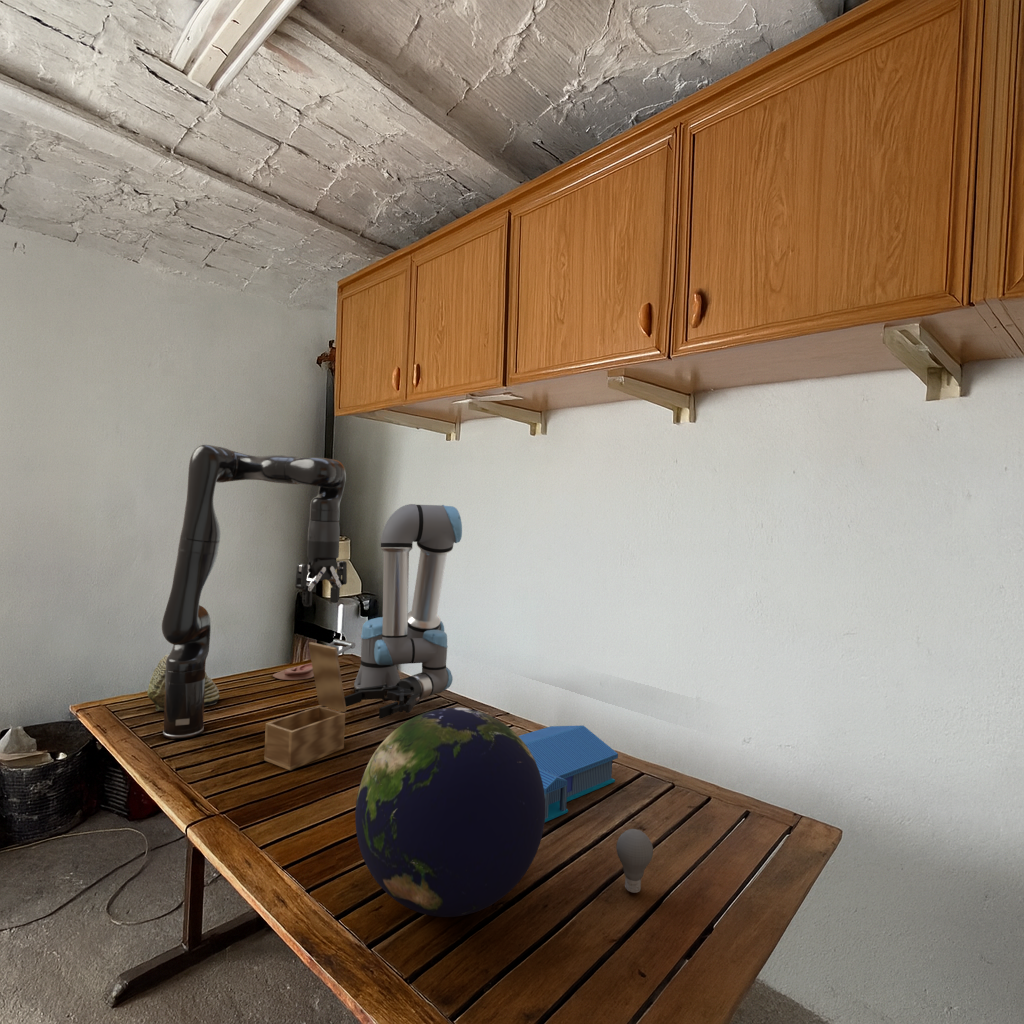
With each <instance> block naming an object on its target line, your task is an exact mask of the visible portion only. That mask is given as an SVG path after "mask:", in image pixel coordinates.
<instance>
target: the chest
mask: <svg viewBox="0 0 1024 1024" xmlns="http://www.w3.org/2000/svg"><path fill="white" fill-rule="evenodd" d="M264 727H265V729H264V730H265V731H264V732H265V733H264V756H263V759H264V760H263V761H265V762H268V763H270V764H273V765H275V766H277V767H279V768H283V769H285V770H287V771H293V770H295V769H298V768H300V767H302V766H304V765H307V764H310V763H312V762H314V761H316V760H320V759H322V758H324V757H326V756H329V755H331V754H334V753H336V752H339V751H341V750H343V749H345V731H346V729H345V728H346V712H342V711H338V710H335V709H332V708H328V707H325V706H322V705H318V706H315V707H311V708H308V709H306V710H302V711H299V712H296V713H294V714H290V715H287V716H284V717H281V718H278V719H275V720H272V721H269V722H265V726H264Z"/></svg>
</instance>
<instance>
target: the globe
mask: <svg viewBox="0 0 1024 1024" xmlns="http://www.w3.org/2000/svg"><path fill="white" fill-rule="evenodd" d="M519 736H520V735H518V734H517V733H516V732H515V731H514V730H513V729H512V728H510V726H508V725H507V724H505V723H504V722H502V721H500V720H499V719H498V718H496V717H494V716H493V715H492V716H491V715H490V714H488V713H486V712H482V711H479V710H475V709H471V708H468V707H467V708H466V707H446V708H445V707H444V708H438V709H433V710H430V711H427V712H423V713H421V714H419V715H416V716H414V717H412V718H410V719H408V720H407V721H404V723H402V724H401V725H400V726H398V727H397V728H395V729H394V730H393V731H392V732H390V734H388V735H387V737H386V738H385V739H384V740H383V741H382V742H381V743H380V744H379V746H378V747H377V748H376V749H375V751H374V753H373V754H372V756H371V757H370V759H369V761H368V763H367V766H366V768H365V770H364V772H363V774H362V777H361V780H360V782H359V786H358V791H357V796H356V801H355V811H354V812H355V813H354V815H355V816H354V818H355V820H354V821H355V832H356V837H357V843H358V847H359V850H360V854H361V856H362V859H363V861H364V863H365V866H366V868H367V869H368V871H369V872H370V874H371V876H372V877H373V879H374V881H375V882H376V883H377V884H378V885H379V887H380V888H381V889H382V890H383V891H384V892H385V893H386V894H387V895H388V896H389V897H391V899H393V900H394V901H396V902H397V903H398V904H400V905H402V906H403V907H405V908H407V909H410V911H414V912H416V913H419V914H423V915H425V916H430V917H435V918H436V917H437V918H455V917H463V916H467V915H471V914H475V913H477V912H479V911H482V910H485V909H487V908H489V907H491V906H493V905H494V904H496V903H497V902H499V901H500V900H501V899H503V898H504V897H505V896H507V895H508V893H510V892H511V891H512V890H513V889H515V887H516V886H517V885H518V884H519V882H520V881H521V880H522V879H523V878H524V876H525V875H526V873H527V872H528V870H529V868H530V867H531V865H532V864H533V862H534V859H535V857H536V855H537V853H538V850H539V848H540V845H541V841H542V838H543V833H544V829H545V824H546V822H545V794H544V788H543V783H542V779H541V775H540V772H539V769H538V767H537V764H536V761H535V759H534V757H533V756H532V754H531V752H530V751H529V749H528V747H527V746H526V745H525V743H524V742H523V741H522V740H521V738H520V737H519Z"/></svg>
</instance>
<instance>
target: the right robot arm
mask: <svg viewBox="0 0 1024 1024" xmlns="http://www.w3.org/2000/svg"><path fill="white" fill-rule="evenodd" d="M462 537H463V522H462V517H461V513H460V512H459V510H458V508H456V507H455V506H452V505H444V504H438V505H437V504H416V503H409V504H405V505H402V506H401V507H399V508H397V509H395V511H394V512H393V513H392V514H391V515H390V516H389V518H388V519H387V520H386V522H385V524H384V527H383V529H382V532H381V536H380V550H381V551H382V552H383V574H382V575H383V580H382V581H383V582H382V584H383V585H382V616H380V617H375V618H371V619H368V620H366V621H365V622H364V623H363V624H362V626H361V627H362V628H361V635H360V638H361V644H360V645H361V647H360V666H359V669H358V672H357V674H356V678H355V680H354V683H353V691H354V693H351V694H348V695H344V698H345V704H346V708H347V707H350V706H353V705H355V704H359V703H361V702H362V701H364V700H365V701H368V700H382V701H393V702H392V703H389V704H386V705H384V706H381V707H379V710H378V719H381V720H383V719H384V718H387V717H390V716H392V715H395V714H397V713H403V712H405V713H406V714H410V713H411V711H413V708H414V707H415V706H416V705H418V704H419V703H420V701H421V700H423V699H426V698H429V697H432V696H433V695H436V694H440V693H442V692H444V691H446V690H447V689H449V688H450V687H451V686H452V684H453V679H454V678H453V674H452V671H451V670H450V668H448V667H447V659H448V656H447V655H448V634H447V632H445V625H444V622H443V621H442V620H441V618H440V616H439V615H438V611H439V606H440V598H441V593H442V586H443V581H444V574H445V571H446V570H445V569H446V563H447V557H448V554H449V553H451V552H452V551H453V549H454V544H458V543H460V542H461V540H462ZM414 543H416V546H417V548H419V550H420V552H419V557H418V564H417V572H416V579H415V584H414V592H413V599H412V605H411V610H410V611H409V575H410V574H409V571H410V552H411V551H412V550H413V544H414ZM407 664H421V671H420V672H419V673H416V674H413V675H412V674H411V675H410V676H408V677H404V678H401V677H400V674H399V673H400V672H399V670H398V667H397V665H407Z"/></svg>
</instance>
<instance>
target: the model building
mask: <svg viewBox="0 0 1024 1024" xmlns="http://www.w3.org/2000/svg"><path fill="white" fill-rule="evenodd" d="M518 736H519V737H520V738H521V740H522V741H523V742H524V743H525V745H526V746H527V747H528V749H529V751H530V752H531V754H532V756H533V757H534V759H535V761H536V764H537V767H538V769H539V772H540V775H541V779H542V783H543V788H544V794H545V823H547V822H550V821H552V820H554V819H556V818H558V817H560V816H563V815H565V814H567V813H569V809H568V808H567V803H569V802H571V801H573V800H575V799H577V798H580V797H582V796H586V795H587V794H589V793H590V794H591V793H592V792H594V791H597V790H599V789H601V788H604V787H606V786H608V785H611V784H614V783H616V779H615V778H613V777H612V775H613V761H615V760H617V759H619V753H618V752H617V751H616V750H615V749H613V748H612V747H611V746H609V745H608V744H607V743H606V742H604V741H603V740H602V738H600V737H599V736H597V735H596V734H594V733H593V732H592V731H591V730H590V729H588V728H587V727H586V726H585V725H553V726H552V725H551V726H546V727H544V728H540V729H537V730H534V731H531V732H530V731H529V732H527V733H524V734H520V735H518Z"/></svg>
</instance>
